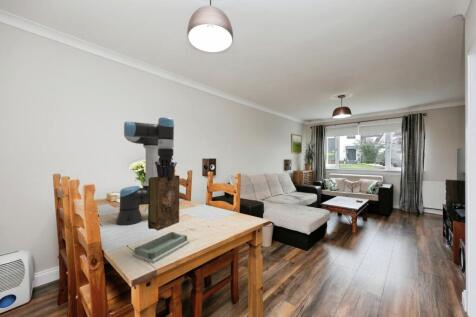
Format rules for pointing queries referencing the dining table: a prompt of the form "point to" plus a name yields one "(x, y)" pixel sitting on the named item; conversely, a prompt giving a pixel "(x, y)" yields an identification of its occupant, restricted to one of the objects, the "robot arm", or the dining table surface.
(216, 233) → the dining table surface
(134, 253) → the tray
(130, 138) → the robot arm
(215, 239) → the dining table surface
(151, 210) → the book
